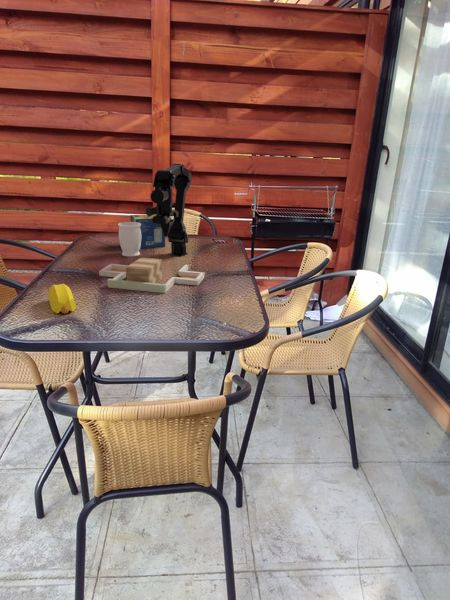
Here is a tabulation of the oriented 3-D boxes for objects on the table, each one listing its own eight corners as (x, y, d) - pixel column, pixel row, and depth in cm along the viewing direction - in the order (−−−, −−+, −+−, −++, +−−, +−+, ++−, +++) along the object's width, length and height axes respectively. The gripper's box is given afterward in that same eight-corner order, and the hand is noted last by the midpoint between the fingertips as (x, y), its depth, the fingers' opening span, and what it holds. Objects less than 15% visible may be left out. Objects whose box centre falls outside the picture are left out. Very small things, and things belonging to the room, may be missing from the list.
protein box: (131, 244, 234) (129, 215, 228) (159, 242, 240) (159, 213, 234) (136, 249, 225) (135, 218, 219) (165, 247, 231) (165, 217, 225)
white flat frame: (119, 262, 203) (118, 256, 201) (209, 271, 195) (209, 264, 194) (85, 284, 174) (84, 277, 173) (189, 295, 166) (189, 288, 165)
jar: (144, 252, 220) (143, 222, 215) (138, 258, 211) (137, 226, 205) (123, 251, 221) (121, 221, 216) (116, 256, 211) (114, 225, 206)
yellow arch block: (70, 296, 162) (47, 299, 159) (68, 278, 160) (45, 281, 157) (78, 314, 147) (53, 318, 144) (76, 295, 145) (51, 298, 142)
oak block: (141, 275, 187) (141, 257, 184) (162, 277, 185) (161, 259, 182) (127, 287, 173) (126, 267, 170) (149, 289, 172) (148, 269, 169)
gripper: (155, 196, 202) (155, 230, 208) (139, 202, 185) (140, 239, 191) (178, 197, 200) (178, 232, 206) (165, 204, 183) (165, 241, 189)
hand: (165, 236), depth 198 cm, fingers closed
